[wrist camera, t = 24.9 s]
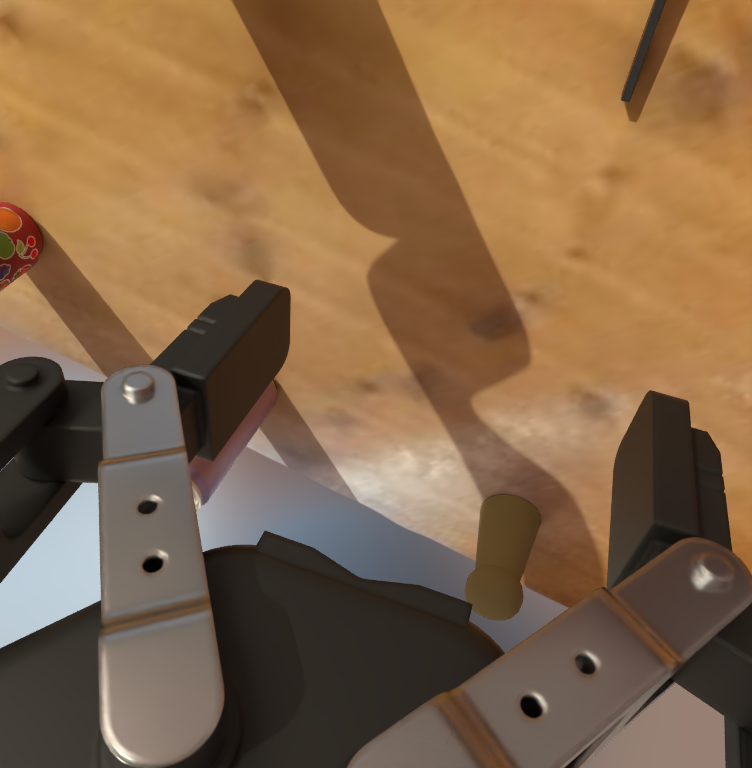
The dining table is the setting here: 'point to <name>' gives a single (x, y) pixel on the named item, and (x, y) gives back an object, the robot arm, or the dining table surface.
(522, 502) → the cork
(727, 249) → the dining table surface
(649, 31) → the spoon
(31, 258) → the smoothie
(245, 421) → the beverage can
